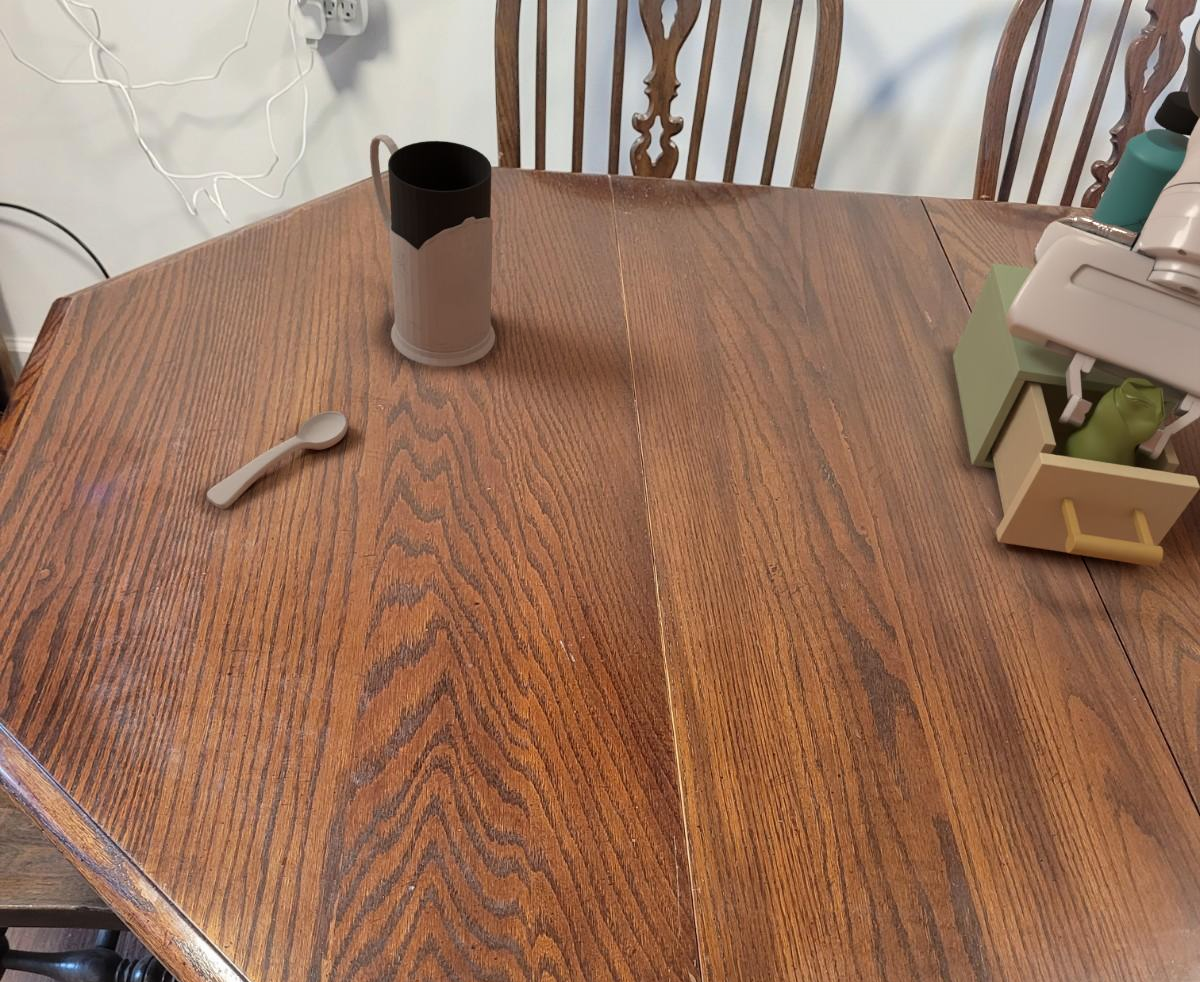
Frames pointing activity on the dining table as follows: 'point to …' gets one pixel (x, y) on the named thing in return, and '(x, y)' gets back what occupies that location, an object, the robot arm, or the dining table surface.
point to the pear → (1118, 424)
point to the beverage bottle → (1148, 166)
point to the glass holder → (438, 249)
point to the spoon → (280, 455)
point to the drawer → (1081, 487)
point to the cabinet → (1007, 364)
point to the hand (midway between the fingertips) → (1107, 440)
